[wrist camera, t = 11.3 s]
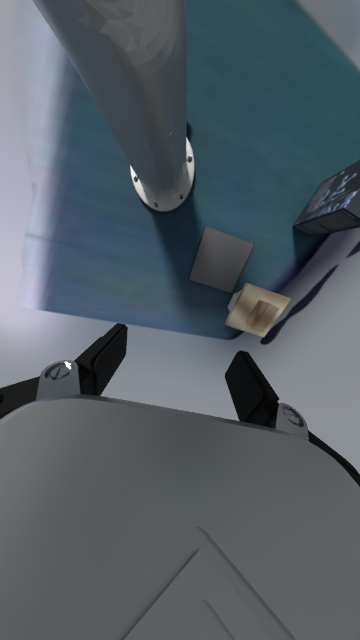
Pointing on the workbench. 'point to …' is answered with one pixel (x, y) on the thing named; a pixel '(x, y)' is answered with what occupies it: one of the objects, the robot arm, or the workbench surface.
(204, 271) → the mat
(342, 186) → the box
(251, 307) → the beige plate with ridge
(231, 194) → the workbench surface
